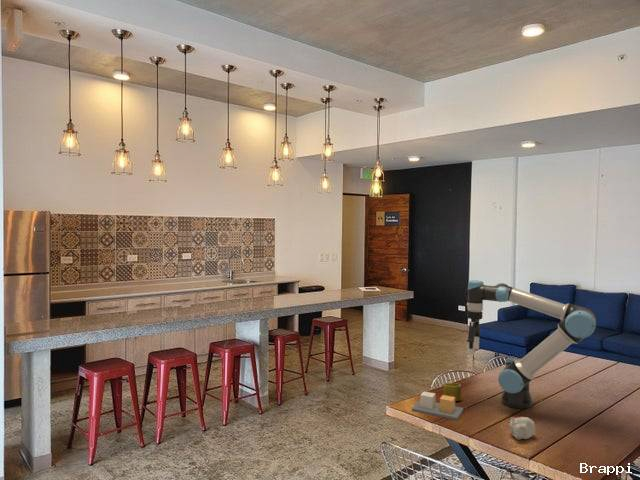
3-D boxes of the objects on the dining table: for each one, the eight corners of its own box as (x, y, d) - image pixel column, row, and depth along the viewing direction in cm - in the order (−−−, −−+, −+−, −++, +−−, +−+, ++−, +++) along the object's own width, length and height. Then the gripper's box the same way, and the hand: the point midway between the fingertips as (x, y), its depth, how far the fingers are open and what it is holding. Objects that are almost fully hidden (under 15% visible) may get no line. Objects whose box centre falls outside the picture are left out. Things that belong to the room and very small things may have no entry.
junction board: (463, 410, 237) (463, 395, 237) (457, 420, 225) (457, 404, 224) (419, 401, 247) (420, 388, 247) (411, 410, 235) (412, 396, 235)
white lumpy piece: (517, 443, 200) (501, 432, 215) (543, 442, 201) (525, 431, 216) (516, 420, 201) (500, 411, 216) (542, 420, 202) (524, 411, 217)
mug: (465, 400, 245) (459, 381, 247) (445, 405, 247) (440, 385, 249) (464, 397, 256) (459, 378, 259) (445, 401, 258) (440, 382, 261)
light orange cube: (454, 409, 235) (455, 397, 235) (452, 413, 229) (452, 401, 229) (442, 406, 238) (442, 394, 237) (439, 410, 232) (439, 398, 232)
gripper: (471, 306, 258) (470, 345, 259) (462, 313, 236) (461, 356, 237) (486, 308, 254) (485, 347, 255) (478, 315, 232) (476, 358, 233)
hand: (473, 351), depth 246 cm, fingers open, 13 cm apart
